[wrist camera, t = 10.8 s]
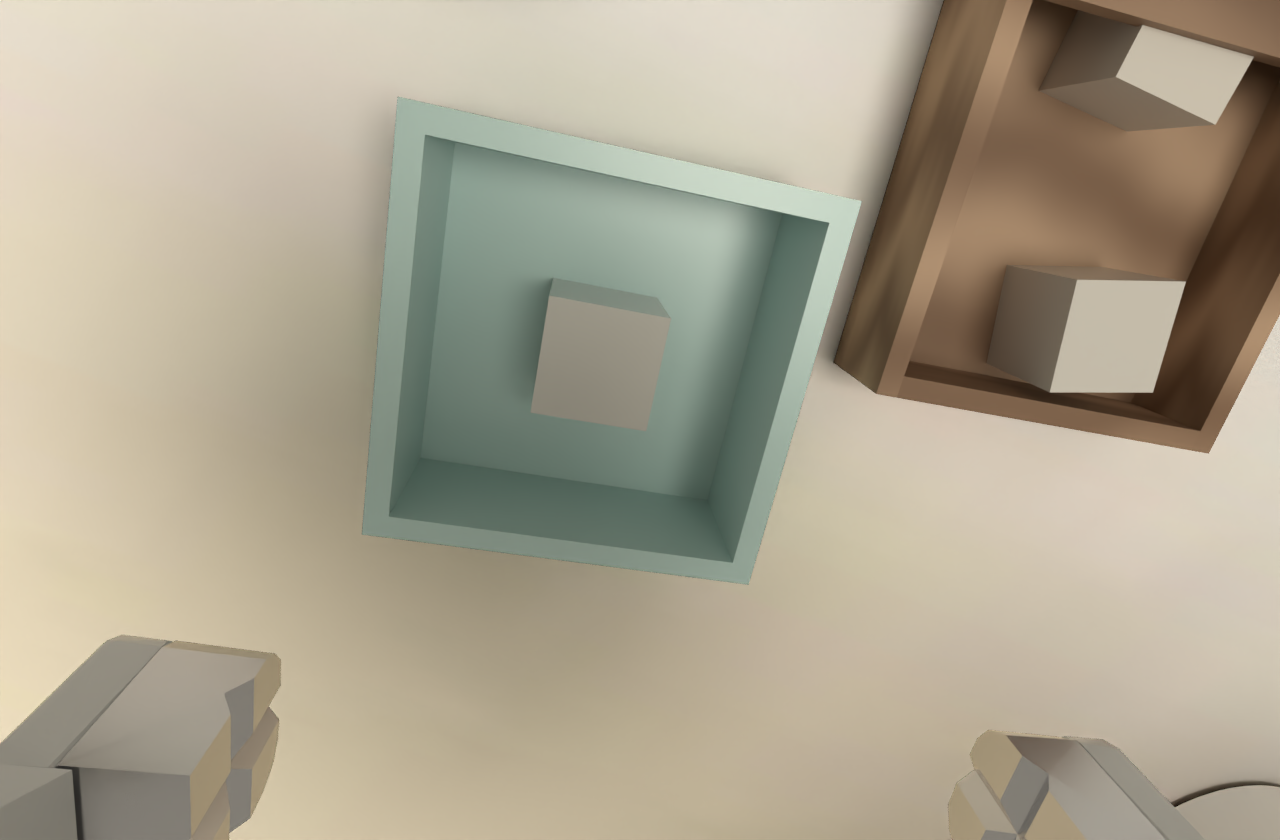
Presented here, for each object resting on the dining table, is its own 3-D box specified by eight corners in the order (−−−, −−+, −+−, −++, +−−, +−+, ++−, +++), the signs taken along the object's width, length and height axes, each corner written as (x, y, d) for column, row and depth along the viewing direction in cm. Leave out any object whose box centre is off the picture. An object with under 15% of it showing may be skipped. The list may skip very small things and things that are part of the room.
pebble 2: (1076, 363, 28) (1153, 392, 25) (986, 363, 28) (1049, 392, 24) (1101, 266, 27) (1185, 281, 23) (1007, 265, 27) (1077, 279, 23)
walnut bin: (1124, 416, 30) (1224, 460, 26) (833, 362, 28) (884, 399, 24) (1316, 0, 25) (1484, -39, 20) (975, -104, 23) (1077, -175, 18)
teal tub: (717, 510, 30) (748, 584, 25) (402, 464, 28) (361, 534, 23) (802, 195, 26) (861, 201, 20) (438, 114, 24) (397, 96, 18)
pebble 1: (1121, 132, 26) (1215, 124, 22) (1034, 91, 25) (1115, 76, 21) (1182, 18, 24) (1291, -10, 21) (1092, -28, 24) (1189, -66, 20)
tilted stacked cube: (636, 395, 27) (646, 431, 23) (536, 378, 27) (530, 412, 23) (657, 297, 26) (671, 318, 22) (553, 277, 25) (549, 295, 22)
